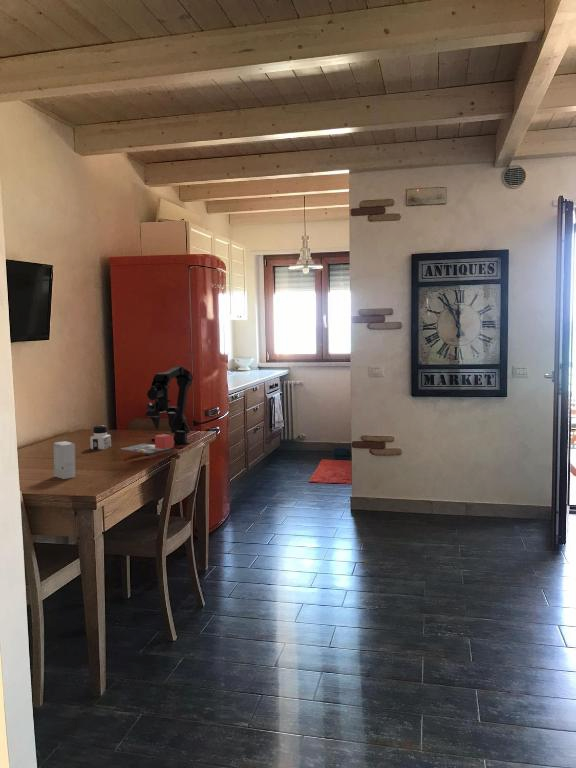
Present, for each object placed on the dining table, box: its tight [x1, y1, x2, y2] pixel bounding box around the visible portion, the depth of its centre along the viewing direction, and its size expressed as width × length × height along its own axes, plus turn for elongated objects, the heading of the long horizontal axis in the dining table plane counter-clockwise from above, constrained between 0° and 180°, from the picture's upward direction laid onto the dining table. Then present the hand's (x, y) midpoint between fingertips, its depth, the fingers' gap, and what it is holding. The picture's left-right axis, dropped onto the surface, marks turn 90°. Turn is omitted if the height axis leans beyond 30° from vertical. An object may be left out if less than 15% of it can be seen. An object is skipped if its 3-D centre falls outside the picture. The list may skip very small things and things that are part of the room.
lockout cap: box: [154, 433, 175, 450], centre depth 319 cm, size 6×7×6 cm
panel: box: [120, 443, 174, 457], centre depth 319 cm, size 16×22×2 cm
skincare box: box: [53, 440, 76, 480], centre depth 266 cm, size 8×6×15 cm
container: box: [89, 424, 112, 450], centre depth 322 cm, size 8×8×13 cm
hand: (163, 428), depth 318 cm, fingers open, 9 cm apart
